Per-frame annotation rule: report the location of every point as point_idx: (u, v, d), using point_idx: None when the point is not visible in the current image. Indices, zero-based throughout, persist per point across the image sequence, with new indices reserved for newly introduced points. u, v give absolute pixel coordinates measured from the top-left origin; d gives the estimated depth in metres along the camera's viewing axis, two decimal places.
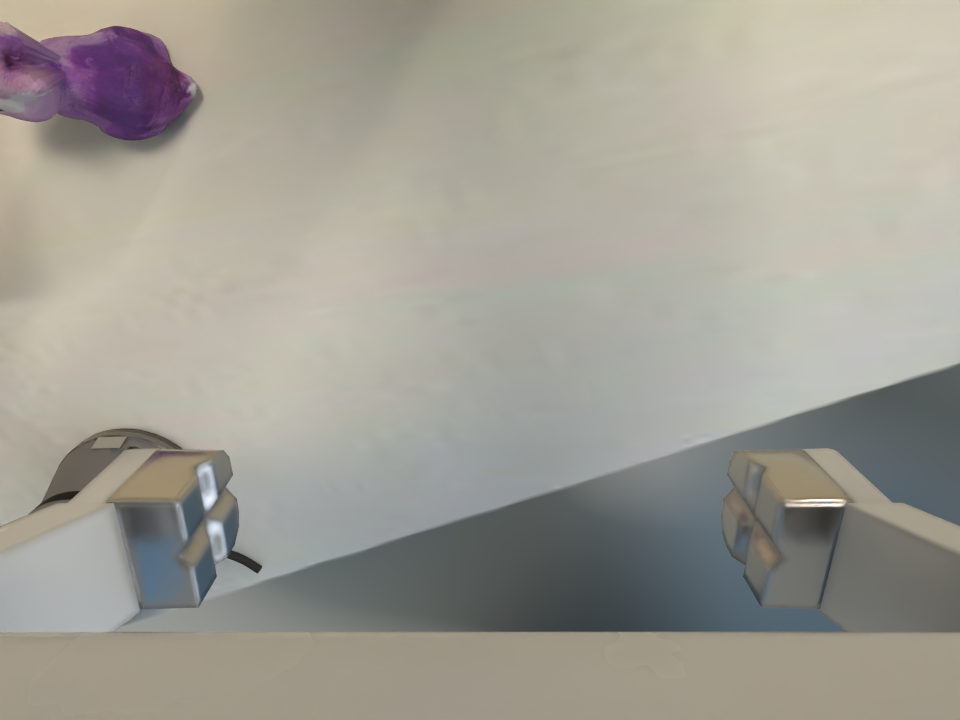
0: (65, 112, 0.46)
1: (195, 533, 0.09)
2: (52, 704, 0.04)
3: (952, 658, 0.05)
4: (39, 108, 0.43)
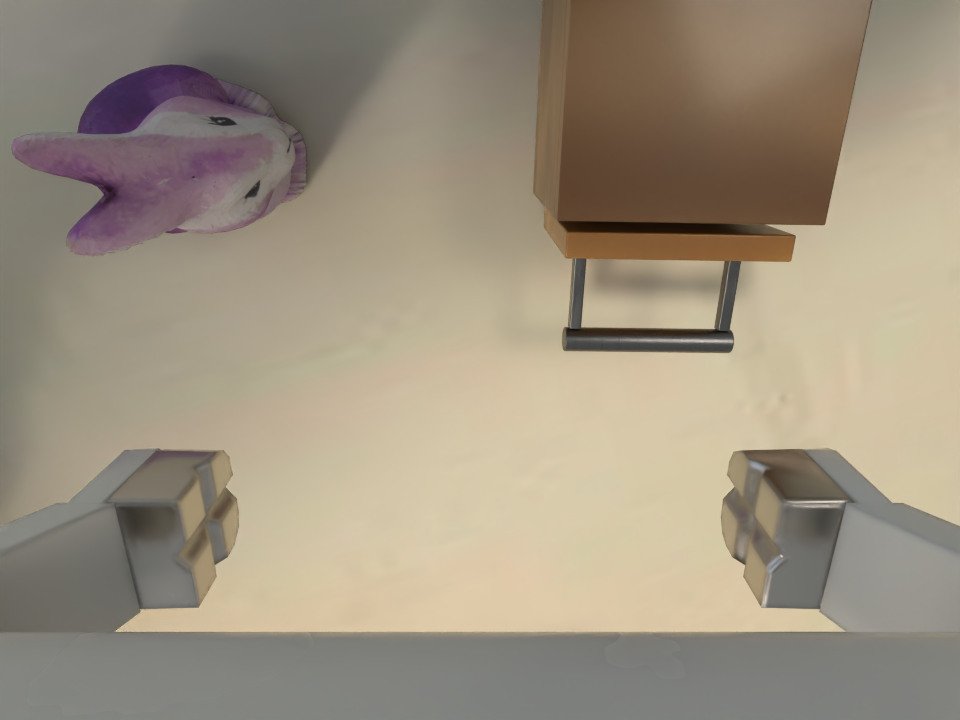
0: None
1: (195, 533, 0.09)
2: (52, 704, 0.04)
3: (952, 658, 0.05)
4: (146, 117, 0.24)
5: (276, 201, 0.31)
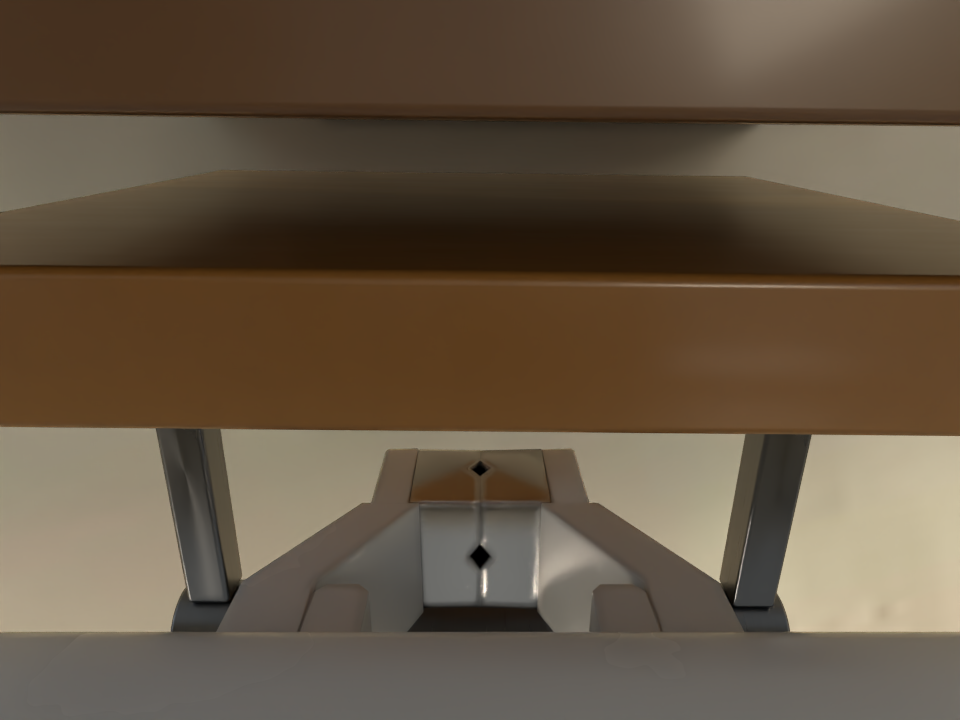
0: None
1: None
2: (52, 704, 0.04)
3: (952, 658, 0.05)
4: None
5: None
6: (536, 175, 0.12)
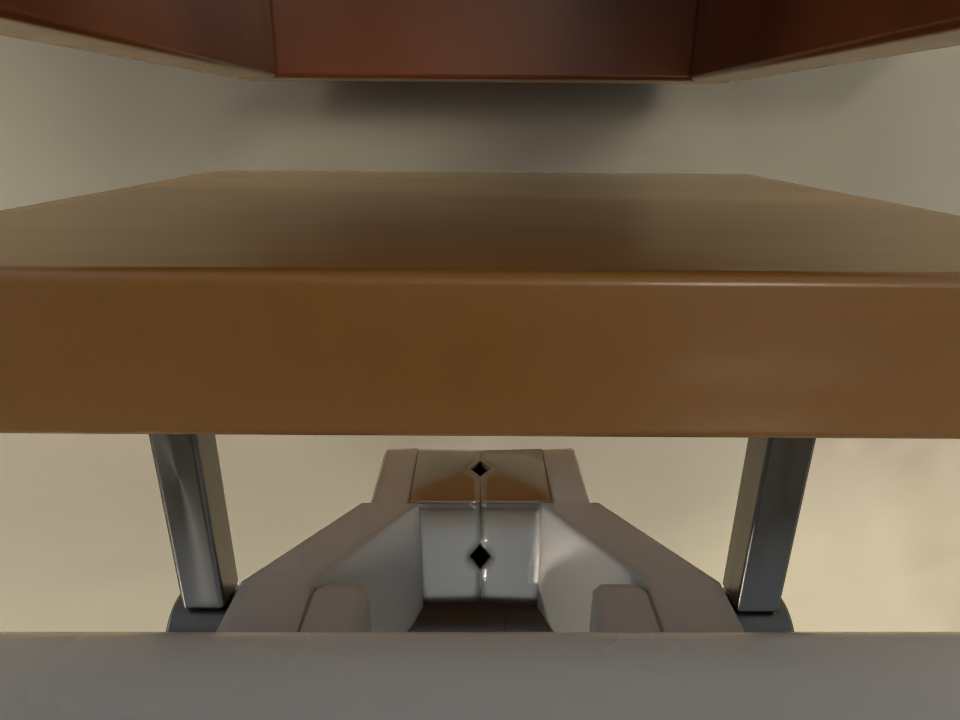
0: None
1: None
2: (52, 704, 0.04)
3: (952, 658, 0.05)
4: None
5: None
6: (535, 174, 0.12)
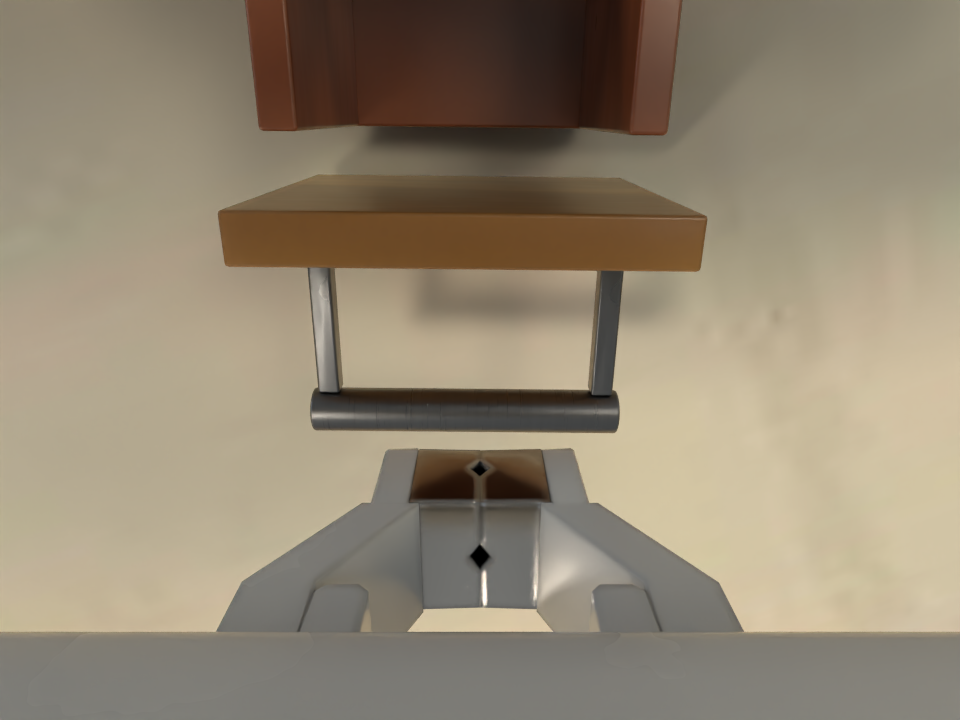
0: None
1: None
2: (52, 704, 0.04)
3: (952, 658, 0.05)
4: None
5: None
6: (498, 177, 0.21)
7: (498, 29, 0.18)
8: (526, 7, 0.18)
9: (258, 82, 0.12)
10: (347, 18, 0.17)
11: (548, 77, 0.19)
